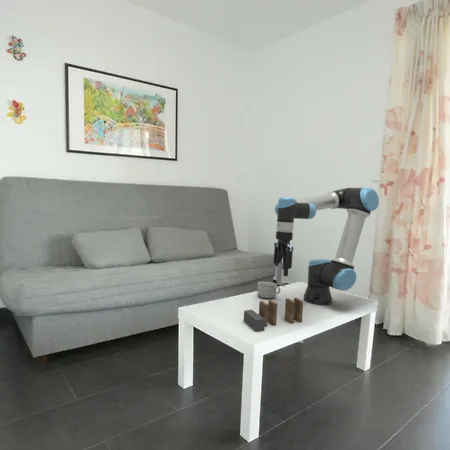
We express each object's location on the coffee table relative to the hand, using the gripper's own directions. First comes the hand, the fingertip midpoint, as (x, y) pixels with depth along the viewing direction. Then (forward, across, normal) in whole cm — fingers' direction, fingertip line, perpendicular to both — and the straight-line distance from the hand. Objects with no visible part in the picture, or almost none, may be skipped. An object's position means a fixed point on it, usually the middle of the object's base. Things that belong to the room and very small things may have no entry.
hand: (280, 281), depth 155 cm
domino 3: (+2, 0, 0) cm, 2 cm away
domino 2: (+18, +5, -6) cm, 20 cm away
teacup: (+17, -29, +10) cm, 36 cm away
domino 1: (+18, +5, -11) cm, 21 cm away
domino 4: (+18, +5, +3) cm, 18 cm away
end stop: (+18, +6, -15) cm, 24 cm away
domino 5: (+17, +5, +7) cm, 20 cm away
